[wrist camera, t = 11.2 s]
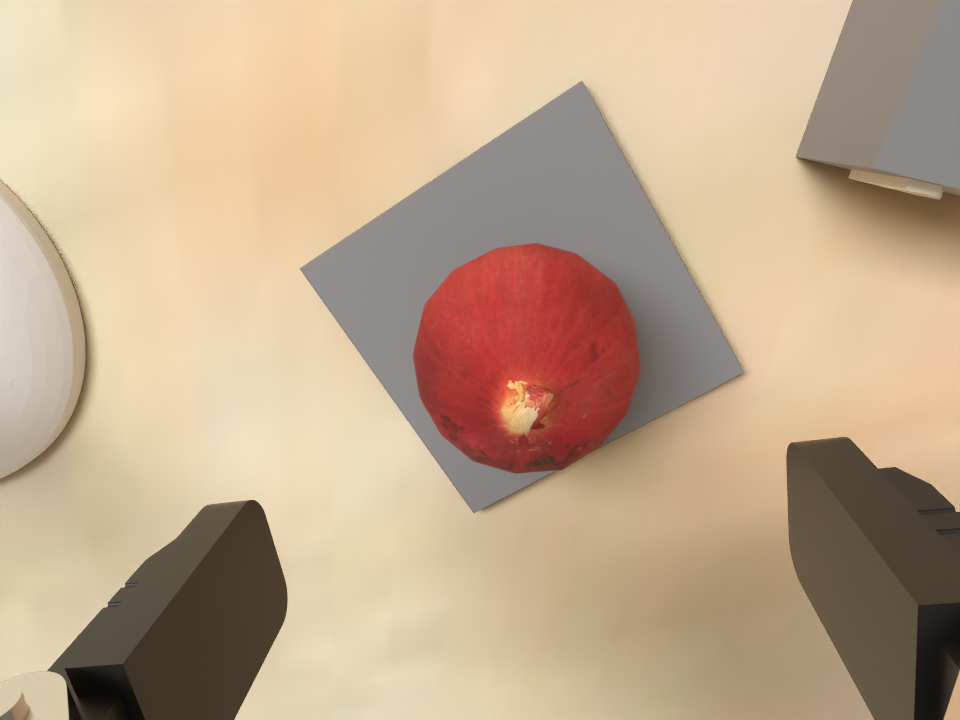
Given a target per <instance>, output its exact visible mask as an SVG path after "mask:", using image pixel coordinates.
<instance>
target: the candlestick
mask: <svg viewBox="0 0 960 720" xmlns="http://www.w3.org/2000/svg"><path fill="white" fill-rule="evenodd" d="M85 362H86V343H85V333H84V325H83V320H82V315H81V310H80V306H79V302H78V299H77V295H76V292H75V289H74V287H73V284H72V281H71V279H70V276H69V274H68V272H67V269H66V267H65V265H64V263H63V261H62V259H61V257H60V255H59V253H58V252H57V250H56V248H55V246H54V245H53V243H52V241H51V240H50V238H49V237H48V235H47V234H46V232H45V231H44V229H43V228H42V226H41V225H40V224H39V222H38V221H37V220H36V218H35V217H34V216H33V214H32V213H31V212H30V211H29V209H28V208H27V207H26V206H25V205H24V204H23V203H22V201H21V200H20V199H19V198H18V197H17V196H16V195H15V194H14V193H13V192H12V191H11V190H10V189H9V188H8V187H7V186H6V185H5V184H4V183H2V182H1V181H0V478H3V477H5V476H7V475H9V474H11V473H13V472H15V471H17V470H18V469H20V468H22V467H23V466H25V465H26V464H28V463H29V462H30V461H32V460H33V459H35V458H36V457H37V456H39V455H40V454H41V453H43V452H44V451H45V450H46V449H47V448H48V447H49V446H50V445H51V444H52V443H53V442H54V441H55V440H56V439H57V437H58V436H59V435H60V434H61V432H62V431H63V429H64V428H65V426H66V425H67V423H68V421H69V420H70V418H71V416H72V414H73V412H74V409H75V407H76V405H77V402H78V399H79V396H80V392H81V388H82V384H83V379H84V372H85Z"/></svg>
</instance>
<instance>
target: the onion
mask: <svg viewBox="0 0 960 720" xmlns="http://www.w3.org/2000/svg"><path fill="white" fill-rule="evenodd" d="M413 360H414V366H415V373H416V379H417V385H418V391H419V396H420V398H421V401H422V403H423V405H424V406H425V408H426V410H427V411H428V413H429V415H430V416H431V418H432V420H433V422H434V424H435V426H436V427H437V429H438V431H439V432H440V434H441V435H442V436H443V437H444V438H445V439H446V440H448V441H449V442H450V443H451V444H452V445H454V446H455V447H456V448H457V449H458V450H460V451H461V452H462V453H463V454H465V455H466V456H467V457H468V458H469V459H471V460H472V461H473V462H477V463H480V464H484V465H487V466H490V467H494V468H497V469H501V470H504V471H508V472H511V473H514V474H517V473H529V472H541V471H553V470H562V469H564V468H565V467H567V466H569V465H570V464H572V463H573V462H575V461H577V460H578V459H580V458H582V457H583V456H585V455H587V454H588V453H590V452H592V451H593V450H595V449H597V448H598V447H600V446H601V445H602V443H603V442H604V441H605V440H606V439H607V437H608V436H609V435H610V434H611V433H612V431H613V430H614V429H615V428H616V427H617V425H618V424H619V423H620V422H621V420H622V419H623V418H624V417H625V416H626V414H627V412H628V409H629V406H630V402H631V399H632V396H633V393H634V390H635V386H636V383H637V380H638V377H639V374H640V370H641V365H640V357H639V349H638V341H637V333H636V327H635V321H634V318H633V316H632V314H631V312H630V310H629V308H628V307H627V305H626V303H625V301H624V299H623V297H622V295H621V293H620V291H619V289H618V287H617V285H616V283H615V282H614V281H612V280H611V279H610V278H608V277H607V276H606V275H604V274H603V273H602V272H600V271H599V270H598V269H596V268H595V267H594V266H593V265H591V264H590V263H589V262H587V261H586V260H585V259H583V258H582V257H581V256H579V255H578V254H577V253H573V252H569V251H566V250H562V249H558V248H554V247H550V246H547V245H543V244H539V243H532V244H524V245H516V246H508V247H500V248H495V249H493V250H491V251H489V252H487V253H485V254H483V255H482V256H480V257H478V258H476V259H474V260H472V261H470V262H468V263H466V264H464V265H462V266H460V267H458V268H456V269H454V270H452V271H451V273H450V274H449V275H448V276H447V278H446V279H445V280H444V281H443V282H442V284H441V285H440V286H439V287H438V289H437V290H436V291H435V292H434V293H433V295H432V296H431V297H430V298H429V300H428V301H427V302H426V303H425V305H424V309H423V313H422V317H421V321H420V325H419V329H418V334H417V338H416V342H415V346H414V352H413Z"/></svg>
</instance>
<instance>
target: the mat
mask: <svg viewBox="0 0 960 720" xmlns="http://www.w3.org/2000/svg"><path fill="white" fill-rule="evenodd" d="M532 243H539V244H543V245H547V246H550V247H554V248H558V249H562V250H566V251H569V252H573V253H577V254H578V255H579V256H581V257H582V258H583V259H585V260H586V261H587V262H589V263H590V264H591V265H593V266H594V267H595V268H596V269H598V270H599V271H600V272H602V273H603V274H604V275H606V276H607V277H608V278H610V279H611V280H612V281H614V282H615V283H616V285H617V287H618V289H619V291H620V293H621V295H622V297H623V299H624V301H625V303H626V305H627V307H628V308H629V310H630V312H631V314H632V316H633V318H634V321H635V327H636V333H637V341H638V349H639V357H640V365H641V370H640V374H639V377H638V380H637V383H636V386H635V390H634V393H633V396H632V399H631V402H630V406H629V409H628V412H627V414H626V416H625V417H624V418H623V419H622V420H621V422H620V423H619V424H618V425H617V427H616V428H615V429H614V430H613V431H612V433H611V434H610V435H609V436H608V437H607V439H606V440H605V441H604V442H603V443H602V445H601V446H600V447H602V446H604V445H606V444H608V443H610V442H612V441H613V440H615V439H617V438H619V437H621V436H623V435H625V434H627V433H629V432H631V431H633V430H635V429H636V428H638V427H640V426H642V425H644V424H646V423H648V422H650V421H652V420H654V419H656V418H658V417H659V416H661V415H663V414H665V413H667V412H669V411H671V410H673V409H675V408H677V407H679V406H681V405H682V404H684V403H686V402H688V401H690V400H692V399H694V398H696V397H698V396H700V395H702V394H704V393H705V392H707V391H709V390H711V389H713V388H715V387H717V386H719V385H721V384H723V383H725V382H726V381H728V380H730V379H732V378H734V377H736V376H738V375H740V374H742V373H744V371H743V369H742V368H741V366H740V364H739V362H738V360H737V359H736V357H735V355H734V353H733V351H732V350H731V348H730V346H729V344H728V342H727V341H726V339H725V337H724V335H723V333H722V332H721V330H720V328H719V326H718V324H717V323H716V321H715V319H714V317H713V315H712V314H711V312H710V310H709V308H708V306H707V305H706V303H705V301H704V299H703V297H702V296H701V294H700V292H699V290H698V288H697V287H696V285H695V283H694V281H693V279H692V278H691V276H690V274H689V272H688V270H687V269H686V267H685V265H684V263H683V261H682V260H681V258H680V256H679V254H678V252H677V251H676V249H675V247H674V245H673V243H672V242H671V240H670V238H669V236H668V234H667V233H666V231H665V229H664V227H663V225H662V224H661V222H660V220H659V218H658V216H657V215H656V213H655V211H654V209H653V208H652V206H651V204H650V202H649V200H648V199H647V197H646V195H645V193H644V191H643V190H642V188H641V186H640V184H639V182H638V181H637V179H636V177H635V175H634V173H633V172H632V170H631V168H630V166H629V164H628V163H627V161H626V159H625V157H624V155H623V154H622V152H621V150H620V148H619V146H618V145H617V143H616V141H615V139H614V137H613V136H612V134H611V132H610V130H609V128H608V127H607V125H606V123H605V121H604V119H603V118H602V116H601V114H600V112H599V110H598V109H597V107H596V105H595V103H594V101H593V100H592V98H591V96H590V94H589V92H588V91H587V89H586V87H585V85H584V83H583V82H582V81H581V82H579V83H578V84H576V85H575V86H573V87H572V88H570V89H569V90H567V91H566V92H564V93H563V94H561V95H560V96H558V97H557V98H555V99H554V100H552V101H551V102H549V103H548V104H546V105H545V106H543V107H542V108H540V109H539V110H537V111H536V112H534V113H533V114H531V115H530V116H528V117H527V118H525V119H524V120H522V121H521V122H519V123H518V124H516V125H515V126H513V127H512V128H510V129H509V130H507V131H506V132H504V133H503V134H501V135H500V136H498V137H497V138H495V139H494V140H492V141H491V142H489V143H488V144H486V145H485V146H483V147H482V148H480V149H479V150H477V151H476V152H474V153H473V154H471V155H470V156H468V157H467V158H465V159H464V160H462V161H461V162H459V163H458V164H456V165H455V166H453V167H452V168H450V169H449V170H447V171H446V172H444V173H443V174H441V175H440V176H438V177H437V178H435V179H434V180H432V181H431V182H429V183H428V184H426V185H425V186H423V187H422V188H420V189H419V190H417V191H416V192H414V193H413V194H411V195H410V196H408V197H407V198H405V199H404V200H402V201H401V202H399V203H398V204H396V205H395V206H393V207H392V208H390V209H389V210H387V211H386V212H384V213H383V214H381V215H380V216H378V217H377V218H375V219H374V220H372V221H370V222H369V223H367V224H366V225H364V226H363V227H361V228H360V229H358V230H357V231H355V232H354V233H352V234H351V235H349V236H348V237H346V238H345V239H343V240H342V241H340V242H339V243H337V244H336V245H334V246H333V247H331V248H330V249H328V250H327V251H325V252H324V253H322V254H321V255H319V256H318V257H316V258H315V259H313V260H312V261H310V262H309V263H307V264H306V265H304V266H303V267H301V268H300V270H301V271H302V273H303V274H304V276H305V277H306V278H307V280H308V281H309V283H310V284H311V285H312V287H313V288H314V290H315V291H316V292H317V294H318V295H319V297H320V298H321V299H322V301H323V302H324V304H325V305H326V307H327V308H328V309H329V311H330V312H331V314H332V315H333V316H334V318H335V319H336V321H337V322H338V323H339V325H340V326H341V328H342V329H343V330H344V332H345V333H346V335H347V336H348V337H349V339H350V340H351V342H352V343H353V344H354V346H355V347H356V349H357V350H358V351H359V353H360V354H361V356H362V357H363V359H364V360H365V361H366V363H367V364H368V366H369V367H370V368H371V370H372V371H373V373H374V374H375V375H376V377H377V378H378V380H379V381H380V382H381V384H382V385H383V387H384V388H385V389H386V391H387V392H388V394H389V395H390V396H391V398H392V399H393V401H394V402H395V403H396V405H397V406H398V408H399V409H400V411H401V412H402V413H403V415H404V416H405V418H406V419H407V420H408V422H409V423H410V425H411V426H412V427H413V429H414V430H415V432H416V433H417V434H418V436H419V437H420V439H421V440H422V441H423V443H424V444H425V446H426V447H427V448H428V450H429V451H430V453H431V454H432V456H433V457H434V458H435V460H436V461H437V463H438V464H439V465H440V467H441V468H442V470H443V471H444V472H445V474H446V475H447V477H448V478H449V479H450V481H451V482H452V484H453V485H454V486H455V488H456V489H457V491H458V492H459V493H460V495H461V496H462V498H463V499H464V500H465V502H466V503H467V505H468V506H469V508H470V509H471V510H472V512H473V513H476V512H477V511H479V510H481V509H483V508H485V507H487V506H489V505H491V504H493V503H495V502H497V501H499V500H500V499H502V498H504V497H506V496H508V495H510V494H512V493H514V492H516V491H518V490H520V489H522V488H523V487H525V486H527V485H529V484H531V483H533V482H535V481H537V480H539V479H541V478H543V477H545V476H546V475H548V474H550V473H552V472H554V471H556V470H553V471H541V472H529V473H517V474H514V473H511V472H508V471H504V470H501V469H497V468H494V467H490V466H487V465H484V464H480V463H477V462H473V461H472V460H471V459H469V458H468V457H467V456H466V455H465V454H463V453H462V452H461V451H460V450H458V449H457V448H456V447H455V446H454V445H452V444H451V443H450V442H449V441H448V440H446V439H445V438H444V437H443V436H442V435H441V434H440V432H439V431H438V429H437V427H436V426H435V424H434V422H433V420H432V418H431V416H430V415H429V413H428V411H427V410H426V408H425V406H424V405H423V403H422V401H421V398H420V396H419V391H418V385H417V379H416V373H415V366H414V360H413V352H414V346H415V342H416V338H417V334H418V329H419V325H420V321H421V317H422V313H423V309H424V305H425V303H426V302H427V301H428V300H429V298H430V297H431V296H432V295H433V293H434V292H435V291H436V290H437V289H438V287H439V286H440V285H441V284H442V282H443V281H444V280H445V279H446V278H447V276H448V275H449V274H450V273H451V271H452V270H454V269H456V268H458V267H460V266H462V265H464V264H466V263H468V262H470V261H472V260H474V259H476V258H478V257H480V256H482V255H483V254H485V253H487V252H489V251H491V250H493V249H495V248H500V247H508V246H516V245H524V244H532ZM600 447H598V448H600ZM598 448H597V449H598ZM595 450H596V449H595ZM593 451H594V450H593ZM588 454H589V453H588Z"/></svg>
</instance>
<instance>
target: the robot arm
mask: <svg viewBox="0 0 960 720" xmlns="http://www.w3.org/2000/svg"><path fill="white" fill-rule="evenodd" d="M787 492H788V523H789V543H790V550H791V555H792V560H793V564H794V567H795V571H796V574H797V576H798V579H799V581H800V583H801V585H802V587H803V589H804V591H805V593H806V594H807V596H808V598H809V600H810V602H811V604H812V605H813V607H814V609H815V611H816V613H817V615H818V616H819V618H820V620H821V622H822V624H823V626H824V627H825V629H826V631H827V633H828V635H829V637H830V638H831V640H832V642H833V644H834V646H835V648H836V650H837V651H838V653H839V655H840V657H841V659H842V661H843V662H844V664H845V666H846V668H847V670H848V672H849V673H850V675H851V677H852V679H853V681H854V683H855V684H856V686H857V688H858V690H859V692H860V694H861V696H862V697H863V699H864V701H865V703H866V705H867V707H868V708H869V710H870V712H871V714H872V716H873V718H874V719H875V720H960V512H956V511H955V507H954V506H953V505H952V504H951V503H950V502H949V501H948V500H947V499H946V498H945V497H944V496H943V495H941V494H940V493H939V492H938V491H937V490H936V489H935V488H934V487H933V486H932V485H931V484H929V483H927V482H925V481H923V480H921V479H919V478H917V477H914V476H912V475H910V474H908V473H906V472H904V471H902V470H900V469H898V468H896V467H892V468H882V469H878V468H877V467H876V466H875V465H874V464H873V463H872V462H871V461H870V460H869V459H868V458H867V457H866V455H865V454H864V453H863V452H862V451H861V450H860V449H859V448H858V447H857V446H856V445H855V444H854V443H853V442H852V441H851V440H850V439H849V438H847V437H839V438H830V439H821V440H812V441H802V442H793V443H790V444H789V446H788V449H787ZM286 611H287V587H286V582H285V578H284V575H283V572H282V568H281V565H280V562H279V558H278V555H277V552H276V548H275V545H274V542H273V539H272V535H271V532H270V529H269V525H268V522H267V519H266V515H265V513H264V510H263V508H262V507H261V505H260V504H259V503H258V502H257V501H255V500H247V501H238V502H229V503H220V504H211V505H207V506H205V507H204V508H203V509H202V510H201V511H200V512H199V513H198V514H197V515H196V516H195V518H194V519H193V520H192V521H191V522H190V523H189V525H188V526H187V527H186V528H185V529H184V530H183V532H182V533H181V534H180V535H179V536H178V537H177V538H176V539H175V540H174V541H172V542H171V543H169V544H168V545H167V546H165V547H164V548H162V549H161V550H160V551H158V552H157V553H155V554H154V555H152V556H151V557H150V558H148V559H147V560H145V562H144V563H143V564H142V565H141V566H140V567H139V568H138V569H137V571H136V572H135V573H134V574H133V575H132V576H131V577H130V578H129V580H128V581H127V582H126V583H125V588H121V589H120V590H119V591H118V592H117V593H116V594H115V595H114V596H113V598H112V599H111V600H110V601H109V602H108V607H106V608H103V609H102V610H101V611H100V612H99V613H98V614H97V615H96V617H95V618H94V619H93V620H92V621H91V622H90V623H89V624H88V626H87V627H86V628H85V629H84V630H83V631H82V632H81V633H80V635H79V636H78V637H77V638H76V639H75V640H74V641H73V642H72V644H71V645H70V646H69V647H68V648H67V649H66V650H65V651H64V653H63V654H62V655H61V656H60V657H59V658H58V659H57V660H56V662H55V663H54V664H53V665H52V666H51V667H50V668H49V669H48V671H40V672H32V673H27V674H23V675H20V676H17V677H13V678H11V679H8V680H6V681H3V682H1V683H0V720H234V719H235V717H236V715H237V713H238V711H239V709H240V707H241V705H242V703H243V701H244V699H245V697H246V695H247V693H248V691H249V689H250V687H251V686H252V684H253V682H254V680H255V678H256V676H257V674H258V672H259V670H260V668H261V666H262V664H263V662H264V660H265V658H266V656H267V654H268V652H269V650H270V648H271V646H272V644H273V642H274V641H275V639H276V637H277V635H278V633H279V631H280V629H281V627H282V625H283V622H284V619H285V616H286Z"/></svg>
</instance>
